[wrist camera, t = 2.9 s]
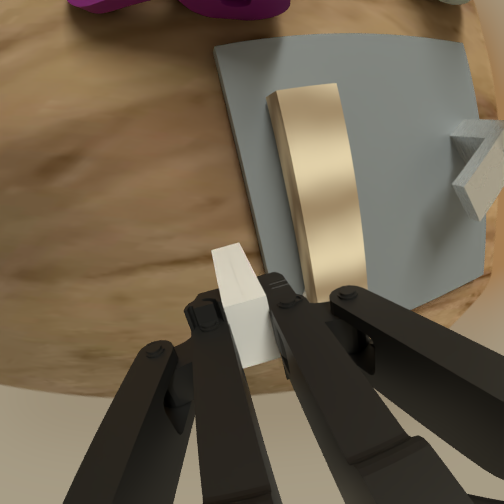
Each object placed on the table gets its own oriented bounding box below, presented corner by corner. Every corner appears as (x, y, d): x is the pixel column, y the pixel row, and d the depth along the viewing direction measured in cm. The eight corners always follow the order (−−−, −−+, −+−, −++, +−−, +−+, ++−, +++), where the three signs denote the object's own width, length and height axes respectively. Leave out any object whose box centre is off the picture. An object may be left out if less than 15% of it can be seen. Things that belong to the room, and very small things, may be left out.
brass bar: (357, 314, 30) (372, 329, 27) (309, 331, 29) (321, 349, 26) (322, 89, 23) (339, 82, 20) (262, 97, 22) (272, 91, 19)
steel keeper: (434, 206, 28) (480, 221, 22) (416, 176, 27) (464, 186, 21) (477, 148, 28) (522, 154, 22) (462, 119, 26) (508, 120, 20)
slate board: (282, 348, 32) (286, 357, 30) (213, 52, 22) (214, 46, 21) (475, 270, 34) (483, 274, 33) (454, 45, 25) (462, 43, 24)
